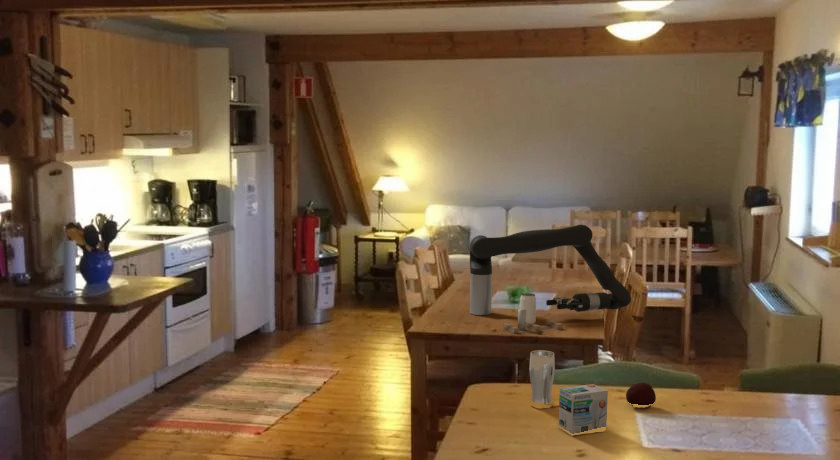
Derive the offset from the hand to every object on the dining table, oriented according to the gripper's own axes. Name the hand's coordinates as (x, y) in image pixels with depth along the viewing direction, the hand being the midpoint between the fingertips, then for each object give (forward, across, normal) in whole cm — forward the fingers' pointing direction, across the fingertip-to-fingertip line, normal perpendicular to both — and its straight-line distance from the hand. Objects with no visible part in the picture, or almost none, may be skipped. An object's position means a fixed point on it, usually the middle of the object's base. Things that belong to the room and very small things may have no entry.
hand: (552, 304), depth 343 cm
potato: (+34, +106, +7) cm, 112 cm away
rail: (+16, +13, +7) cm, 22 cm away
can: (+11, 0, +7) cm, 13 cm away
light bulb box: (+59, +116, +7) cm, 130 cm away
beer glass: (+59, +95, +7) cm, 112 cm away
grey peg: (+21, +13, +6) cm, 25 cm away
